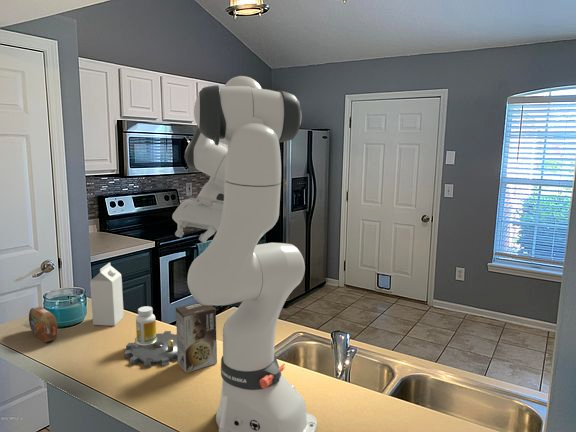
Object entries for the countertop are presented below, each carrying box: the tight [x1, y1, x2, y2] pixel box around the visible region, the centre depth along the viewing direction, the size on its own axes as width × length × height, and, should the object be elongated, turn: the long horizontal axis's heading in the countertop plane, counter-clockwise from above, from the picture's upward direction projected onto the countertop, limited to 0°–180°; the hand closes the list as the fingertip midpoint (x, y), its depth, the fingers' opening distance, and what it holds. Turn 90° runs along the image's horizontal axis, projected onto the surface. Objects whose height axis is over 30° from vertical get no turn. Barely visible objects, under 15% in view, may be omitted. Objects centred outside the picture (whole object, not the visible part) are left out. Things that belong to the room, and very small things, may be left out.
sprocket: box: [124, 330, 178, 368], centre depth 124 cm, size 18×18×4 cm
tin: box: [28, 306, 58, 343], centre depth 130 cm, size 15×3×8 cm, turn 50°
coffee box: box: [175, 302, 218, 374], centre depth 116 cm, size 9×6×16 cm
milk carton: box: [89, 262, 125, 327], centre depth 140 cm, size 7×7×19 cm
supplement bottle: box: [135, 305, 157, 344], centre depth 126 cm, size 5×5×10 cm
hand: (189, 238), depth 125 cm, fingers open, 8 cm apart
